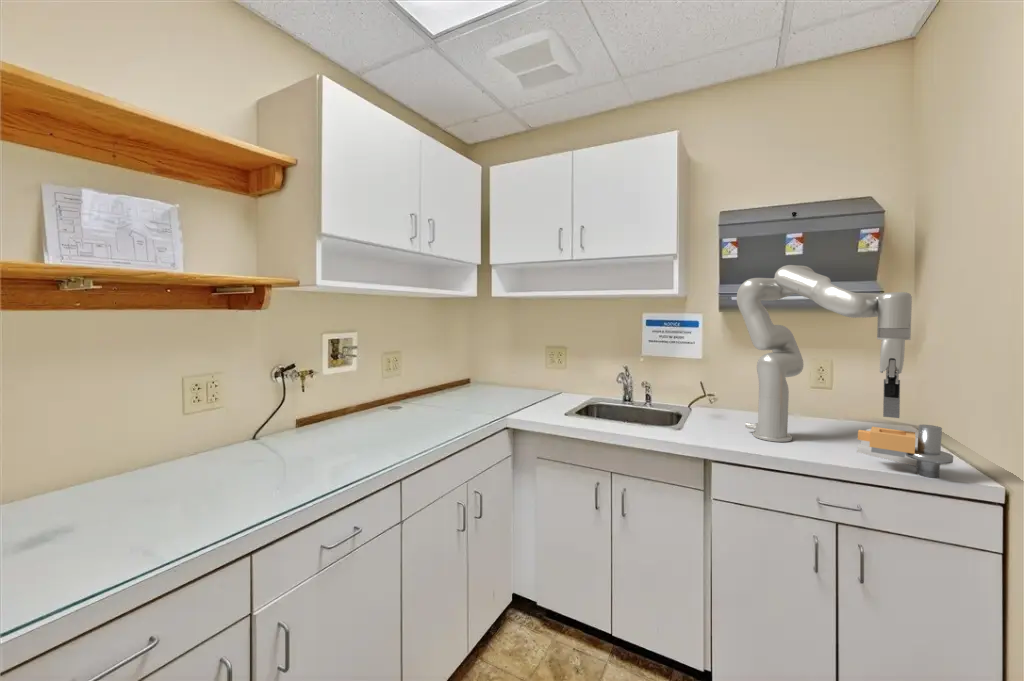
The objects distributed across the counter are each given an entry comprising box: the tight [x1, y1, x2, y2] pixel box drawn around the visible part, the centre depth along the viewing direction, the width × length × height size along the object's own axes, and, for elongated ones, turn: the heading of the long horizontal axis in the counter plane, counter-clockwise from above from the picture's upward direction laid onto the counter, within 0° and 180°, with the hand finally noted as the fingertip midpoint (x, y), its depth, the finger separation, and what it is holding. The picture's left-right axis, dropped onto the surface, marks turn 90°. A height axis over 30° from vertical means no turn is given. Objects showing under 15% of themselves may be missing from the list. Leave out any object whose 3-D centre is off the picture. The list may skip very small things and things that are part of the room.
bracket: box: [857, 426, 916, 454], centre depth 133 cm, size 13×8×4 cm, turn 48°
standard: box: [871, 424, 954, 479], centre depth 130 cm, size 18×10×14 cm, turn 48°
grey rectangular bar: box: [882, 378, 901, 419], centre depth 132 cm, size 4×2×11 cm, turn 48°
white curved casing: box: [856, 428, 918, 467], centre depth 143 cm, size 17×5×10 cm, turn 28°
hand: (891, 396), depth 132 cm, fingers closed on grey rectangular bar, 2 cm apart
